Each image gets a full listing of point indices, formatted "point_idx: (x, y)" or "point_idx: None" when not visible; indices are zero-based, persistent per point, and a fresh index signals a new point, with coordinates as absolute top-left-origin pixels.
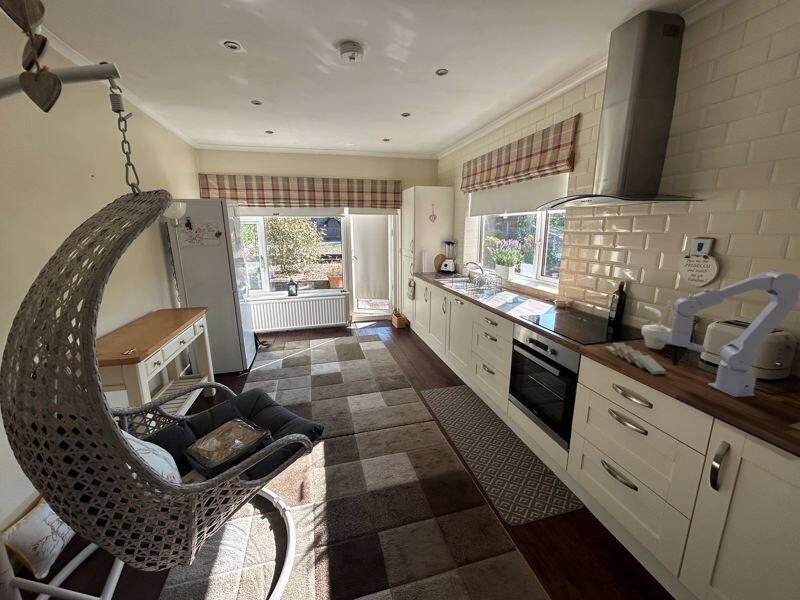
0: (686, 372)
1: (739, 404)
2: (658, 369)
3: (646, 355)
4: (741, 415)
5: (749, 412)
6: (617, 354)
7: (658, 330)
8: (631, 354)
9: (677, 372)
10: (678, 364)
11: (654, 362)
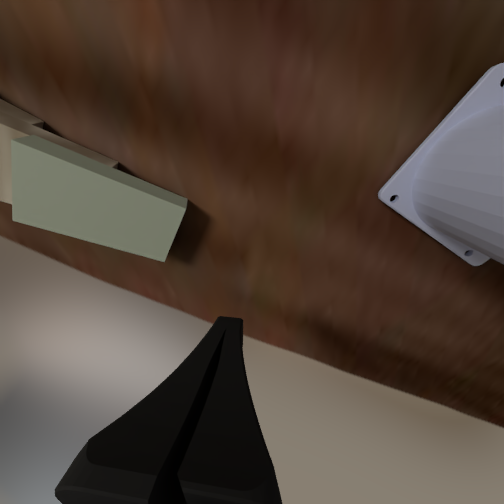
0: (258, 52)
1: (469, 314)
2: (164, 235)
3: (11, 160)
4: (449, 379)
5: (482, 352)
6: None
7: None
8: None
9: (222, 112)
10: (242, 325)
11: (106, 194)
